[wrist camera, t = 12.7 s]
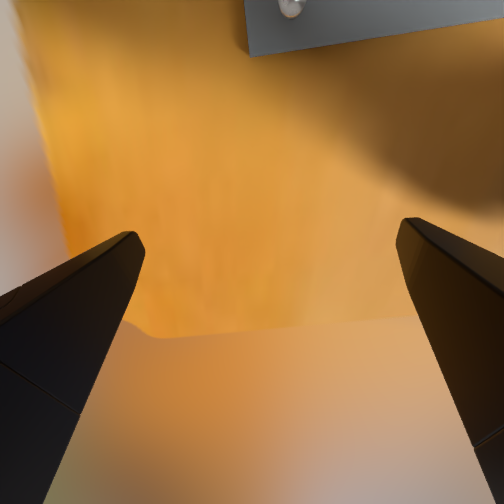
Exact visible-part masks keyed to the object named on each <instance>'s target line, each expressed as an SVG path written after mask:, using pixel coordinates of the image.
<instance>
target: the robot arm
mask: <svg viewBox="0 0 504 504" xmlns="http://www.w3.org/2000/svg"><path fill="white" fill-rule="evenodd" d="M396 249H397V252H398V256H399V260H400V264H401V268H402V271H403V275H404V279H405V282H406V286H407V289H408V291H409V294H410V296H411V299H412V301H413V304H414V306H415V308H416V311H417V313H418V316H419V318H420V321H421V323H422V325H423V328H424V330H425V333H426V335H427V337H428V340H429V342H430V345H431V347H432V350H433V352H434V354H435V357H436V359H437V361H438V364H439V367H440V369H441V371H442V374H443V376H444V379H445V381H446V383H447V386H448V388H449V391H450V393H451V396H452V398H453V400H454V403H455V405H456V408H457V410H458V412H459V415H460V417H461V420H462V421H463V425H464V427H465V429H466V432H467V434H468V436H469V439H470V441H471V444H472V446H473V447H474V452H475V454H476V457H477V459H478V461H479V464H480V466H481V469H482V471H483V473H484V476H485V478H486V481H487V483H488V485H489V488H490V490H491V493H492V495H493V497H494V500H495V503H496V504H504V258H502V257H500V256H498V255H496V254H494V253H492V252H490V251H488V250H486V249H484V248H481V247H479V246H477V245H475V244H473V243H471V242H469V241H467V240H465V239H463V238H460V237H458V236H456V235H454V234H452V233H450V232H448V231H446V230H444V229H442V228H440V227H437V226H435V225H433V224H431V223H429V222H427V221H425V220H423V219H421V218H418V217H414V218H404V219H403V220H402V221H401V224H400V228H399V231H398V235H397V238H396ZM144 257H145V248H144V246H143V244H142V242H141V240H140V238H139V236H138V234H137V233H136V232H134V231H124V232H121V233H120V234H118V235H116V236H114V237H112V238H110V239H108V240H106V241H104V242H102V243H101V244H99V245H97V246H95V247H93V248H91V249H89V250H87V251H85V252H84V253H82V254H80V255H78V256H76V257H74V258H72V259H70V260H68V261H66V262H65V263H63V264H61V265H59V266H57V267H55V268H53V269H51V270H50V271H47V272H46V273H44V274H42V275H40V276H38V277H36V278H34V279H32V280H30V281H29V282H27V283H25V284H23V285H22V286H19V287H17V288H15V289H13V290H11V291H10V292H8V293H6V294H4V295H2V296H0V504H43V502H44V500H45V498H46V495H47V492H48V491H49V488H50V486H51V484H52V481H53V479H54V476H55V474H56V472H57V470H58V467H59V465H60V463H61V460H62V458H63V455H64V453H65V451H66V449H67V446H68V444H69V442H70V439H71V437H72V434H73V432H74V430H75V427H76V425H77V423H78V421H79V418H80V414H81V413H82V411H83V408H84V406H85V404H86V402H87V399H88V396H89V395H90V392H91V390H92V388H93V385H94V383H95V381H96V378H97V376H98V374H99V371H100V369H101V366H102V364H103V362H104V359H105V357H106V355H107V353H108V350H109V348H110V346H111V343H112V341H113V339H114V336H115V334H116V331H117V329H118V327H119V324H120V322H121V320H122V318H123V315H124V313H125V311H126V308H127V306H128V304H129V301H130V299H131V297H132V294H133V292H134V289H135V286H136V283H137V280H138V277H139V273H140V270H141V267H142V264H143V260H144Z"/></svg>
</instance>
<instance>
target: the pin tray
mask: <svg viewBox="0 0 504 504" xmlns="http://www.w3.org/2000/svg"><path fill="white" fill-rule="evenodd" d="M244 8H245V17H246V26H247V36H248V45H249V54H250V58H251V57H257V56H264V55H270V54H276V53H283V52H289V51H296V50H302V49H308V48H315V47H321V46H327V45H334V44H340V43H346V42H353V41H359V40H365V39H372V38H378V37H384V36H391V35H397V34H403V33H410V32H416V31H422V30H429V29H435V28H442V27H448V26H454V25H461V24H467V23H473V22H480V21H486V20H492V19H499V18H504V0H244Z"/></svg>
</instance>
